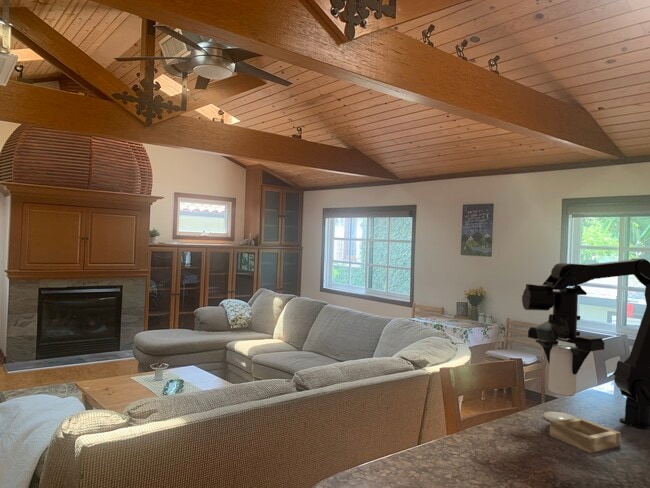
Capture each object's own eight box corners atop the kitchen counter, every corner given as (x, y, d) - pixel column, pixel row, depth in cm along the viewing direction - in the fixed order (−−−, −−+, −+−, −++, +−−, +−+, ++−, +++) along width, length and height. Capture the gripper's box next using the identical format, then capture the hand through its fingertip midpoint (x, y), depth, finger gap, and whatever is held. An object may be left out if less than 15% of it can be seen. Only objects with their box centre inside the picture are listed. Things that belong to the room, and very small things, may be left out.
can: (579, 397, 125) (581, 350, 126) (551, 394, 127) (554, 348, 127) (571, 390, 132) (573, 345, 132) (545, 388, 133) (547, 343, 133)
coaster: (557, 412, 135) (557, 410, 135) (584, 422, 128) (584, 420, 128) (537, 416, 132) (537, 413, 132) (563, 426, 125) (563, 424, 125)
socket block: (578, 429, 123) (579, 417, 123) (620, 445, 114) (620, 432, 114) (549, 435, 119) (550, 422, 118) (590, 452, 109) (590, 439, 109)
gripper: (514, 307, 134) (512, 365, 134) (577, 318, 117) (575, 383, 117) (542, 306, 139) (540, 361, 139) (606, 316, 122) (604, 379, 122)
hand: (563, 370), depth 129 cm, fingers closed on can, 6 cm apart
